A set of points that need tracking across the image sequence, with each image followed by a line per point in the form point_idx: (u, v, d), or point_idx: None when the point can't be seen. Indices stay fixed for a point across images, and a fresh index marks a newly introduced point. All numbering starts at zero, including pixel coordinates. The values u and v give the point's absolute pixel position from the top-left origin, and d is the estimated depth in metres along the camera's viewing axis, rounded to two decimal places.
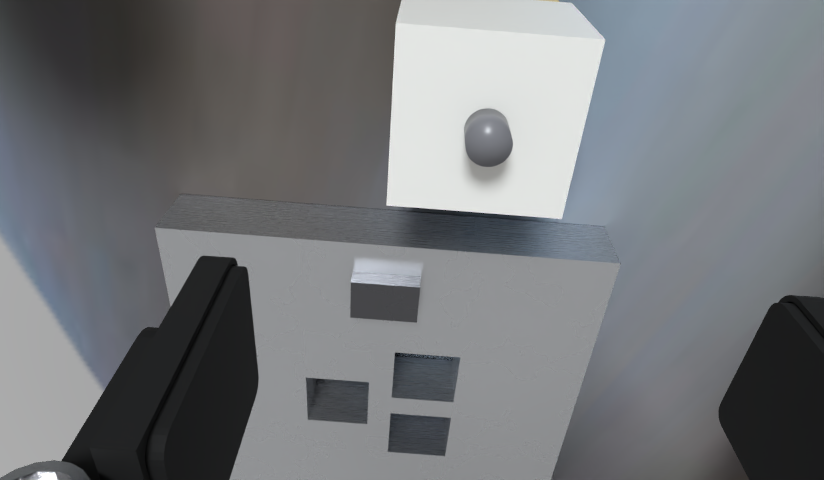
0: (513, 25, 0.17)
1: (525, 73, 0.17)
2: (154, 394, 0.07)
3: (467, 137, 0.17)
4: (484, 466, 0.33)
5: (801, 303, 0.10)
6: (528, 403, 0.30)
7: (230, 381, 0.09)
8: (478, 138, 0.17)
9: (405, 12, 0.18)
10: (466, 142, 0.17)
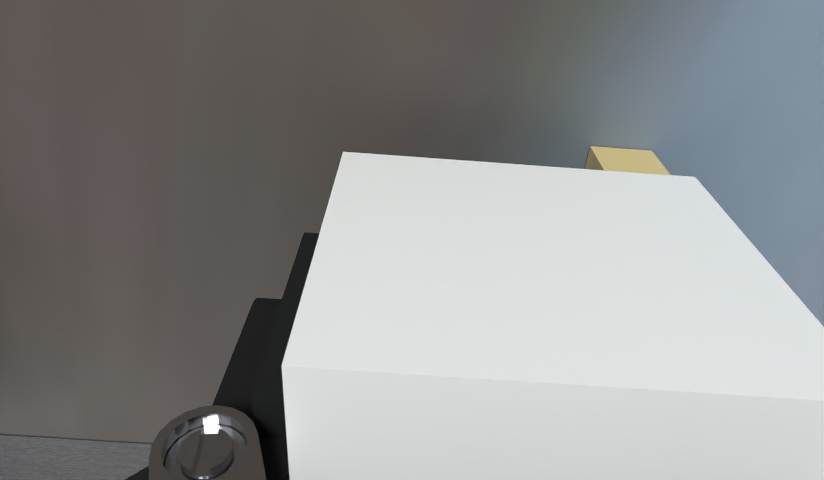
0: (613, 333, 0.06)
1: (645, 466, 0.06)
2: None
3: None
4: None
5: None
6: None
7: None
8: None
9: (324, 280, 0.07)
10: None
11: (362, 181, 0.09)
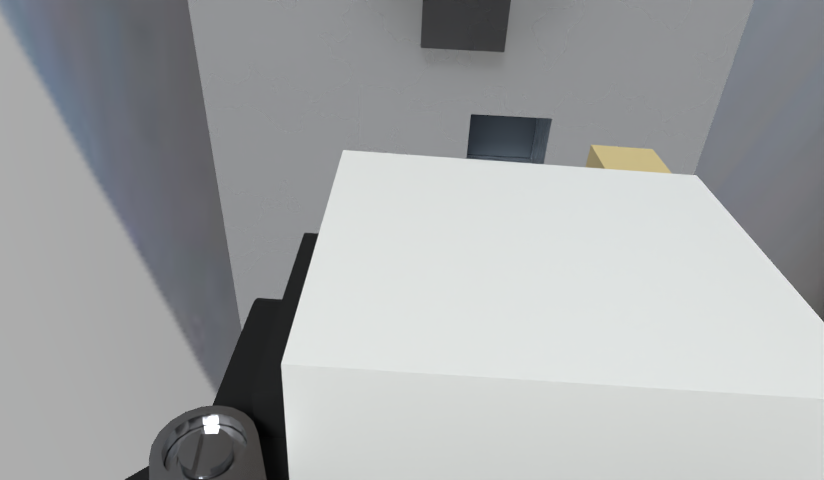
0: (614, 331, 0.06)
1: (647, 465, 0.06)
2: None
3: None
4: None
5: None
6: None
7: None
8: None
9: (324, 278, 0.07)
10: None
11: (362, 179, 0.09)
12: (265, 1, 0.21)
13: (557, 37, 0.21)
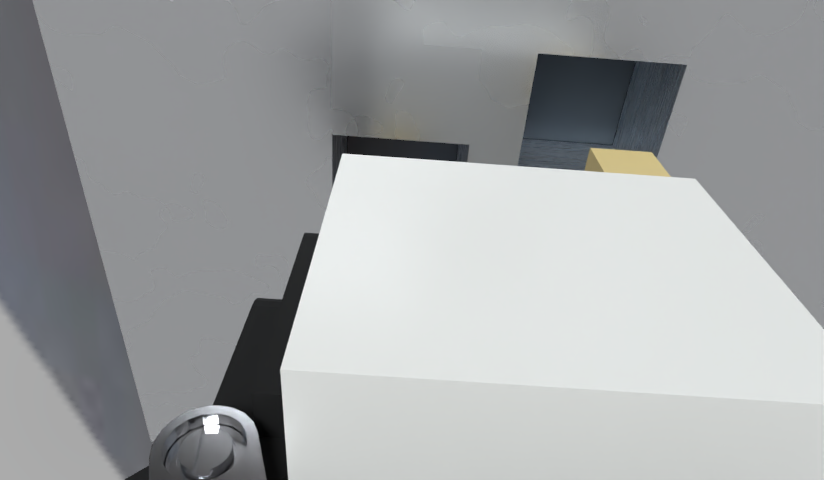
0: (613, 336, 0.06)
1: (645, 469, 0.06)
2: None
3: None
4: None
5: None
6: (806, 196, 0.14)
7: None
8: None
9: (323, 283, 0.07)
10: None
11: (361, 183, 0.09)
12: None
13: None
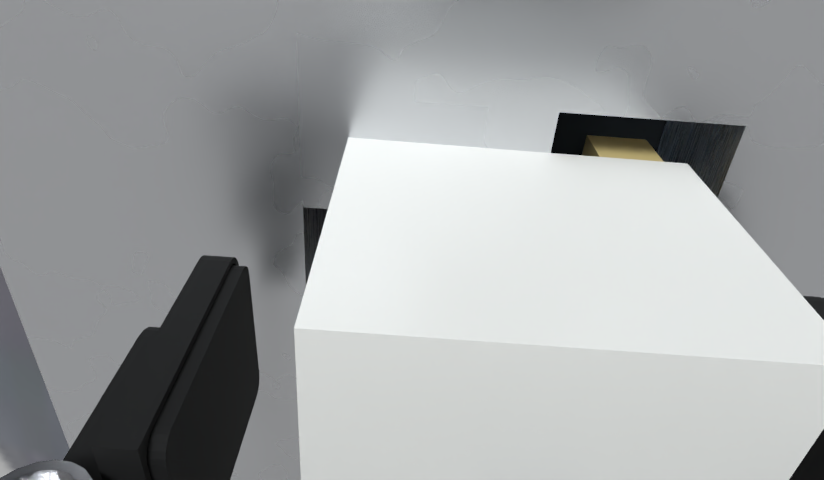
0: (606, 302, 0.07)
1: (637, 428, 0.07)
2: (155, 393, 0.07)
3: None
4: None
5: None
6: None
7: (231, 381, 0.09)
8: None
9: (332, 253, 0.07)
10: None
11: (367, 164, 0.09)
12: None
13: None
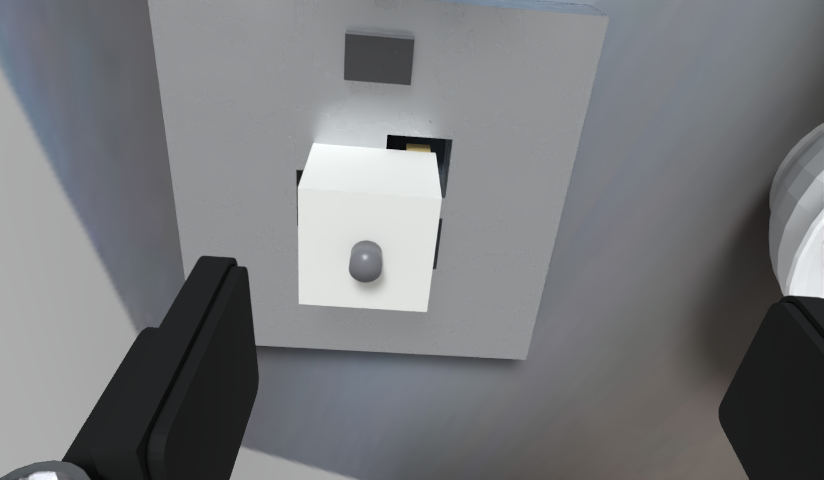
0: (381, 185, 0.25)
1: (389, 219, 0.25)
2: (154, 394, 0.07)
3: (349, 263, 0.25)
4: (475, 281, 0.33)
5: (801, 303, 0.10)
6: (520, 198, 0.30)
7: (230, 381, 0.09)
8: (357, 264, 0.25)
9: (307, 174, 0.25)
10: (349, 267, 0.25)
11: (319, 151, 0.28)
12: (217, 39, 0.26)
13: (453, 75, 0.27)
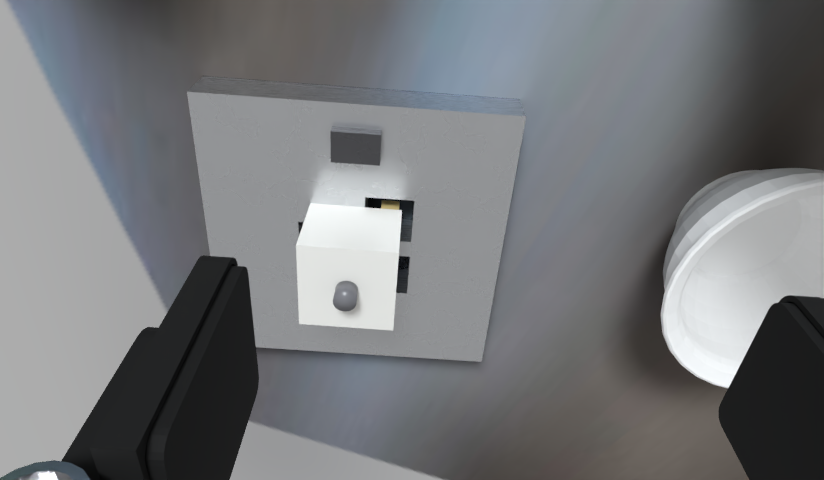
0: (356, 242, 0.35)
1: (362, 266, 0.35)
2: (154, 394, 0.07)
3: (333, 298, 0.35)
4: (438, 302, 0.43)
5: (801, 303, 0.10)
6: (468, 242, 0.40)
7: (230, 381, 0.09)
8: (338, 299, 0.35)
9: (303, 232, 0.35)
10: (333, 300, 0.35)
11: (314, 211, 0.37)
12: (239, 133, 0.36)
13: (412, 156, 0.36)
